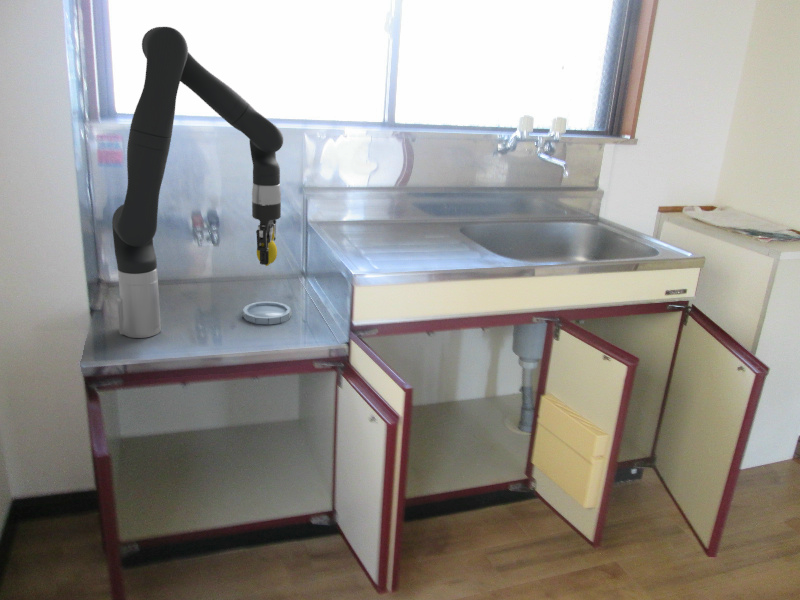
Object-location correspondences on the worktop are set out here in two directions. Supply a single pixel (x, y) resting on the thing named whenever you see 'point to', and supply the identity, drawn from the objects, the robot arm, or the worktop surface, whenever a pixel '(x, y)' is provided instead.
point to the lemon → (270, 252)
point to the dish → (267, 312)
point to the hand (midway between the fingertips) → (266, 260)
